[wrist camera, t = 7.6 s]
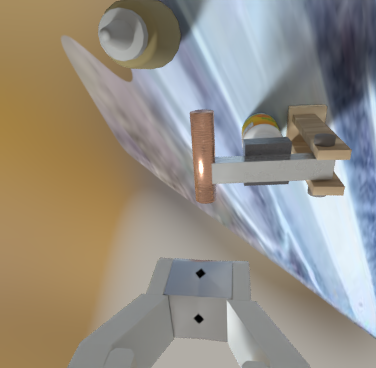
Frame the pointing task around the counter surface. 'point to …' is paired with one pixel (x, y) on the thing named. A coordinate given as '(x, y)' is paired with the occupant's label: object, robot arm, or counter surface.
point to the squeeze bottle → (139, 33)
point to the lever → (248, 161)
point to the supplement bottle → (260, 127)
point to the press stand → (316, 144)
